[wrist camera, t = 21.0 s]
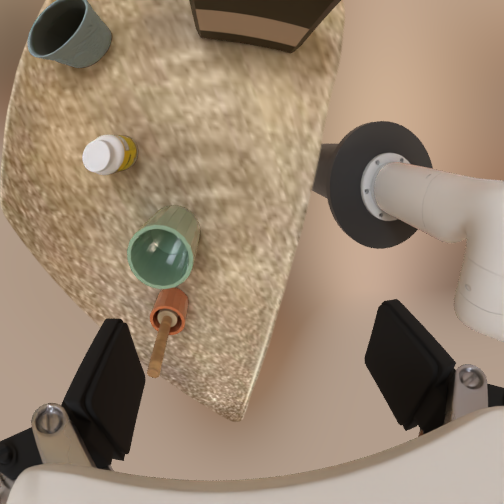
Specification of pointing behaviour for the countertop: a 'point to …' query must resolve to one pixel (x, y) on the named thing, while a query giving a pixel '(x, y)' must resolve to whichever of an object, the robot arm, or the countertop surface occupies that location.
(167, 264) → the tumbler
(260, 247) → the countertop surface
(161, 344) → the brush
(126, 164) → the supplement bottle
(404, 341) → the robot arm
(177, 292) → the holder
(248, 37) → the bottle
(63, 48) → the blue-gray pot
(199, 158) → the countertop surface
